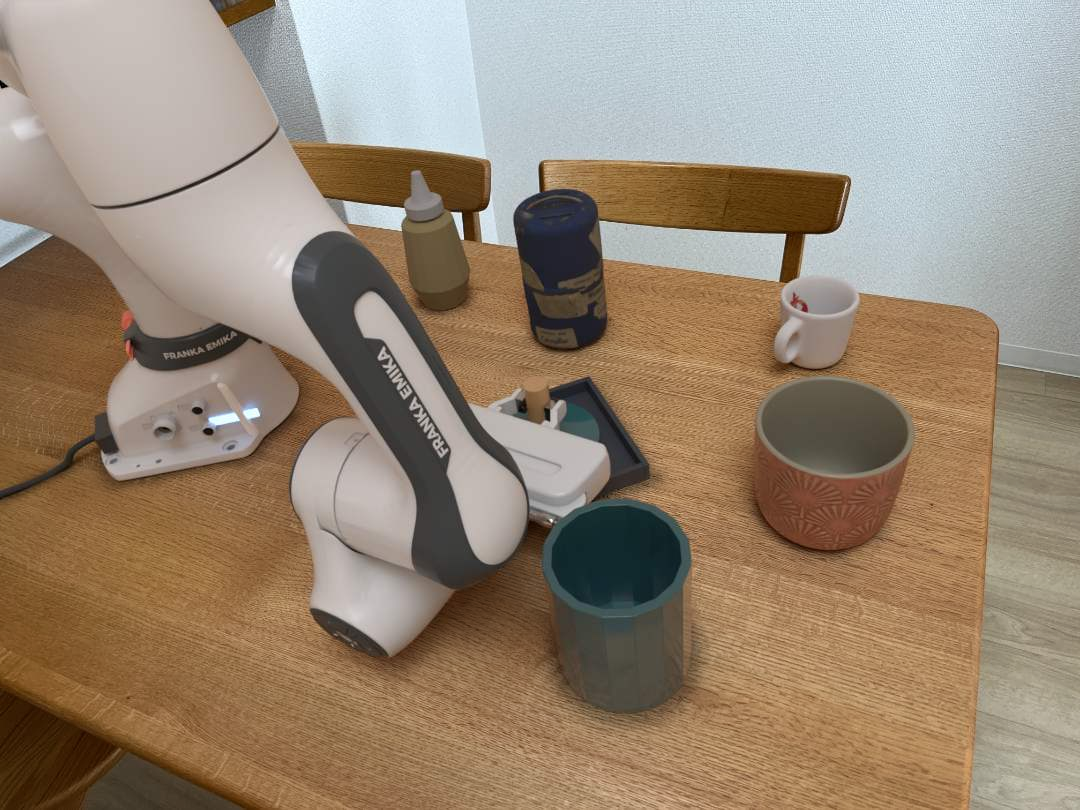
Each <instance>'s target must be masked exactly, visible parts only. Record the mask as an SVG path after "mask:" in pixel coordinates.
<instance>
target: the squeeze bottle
mask: <svg viewBox="0 0 1080 810" xmlns="http://www.w3.org/2000/svg"><path fill="white" fill-rule="evenodd" d="M410 192H411V193H410V194H411V196H409V197H408V198H406V199H405V201H404V203H403V208H404V212H405V215H406V216H404V217H403V219H402V220H401V224H400V227H401V233H402V242H403V248H404V255H405V261H406V266H407V267H406V268H407V274H408V282H409V284H410V286H411V288H412V290H414V292H415V294H416V295H417V296H418V297H419V299H420V301H421V302H422V303H423V305H424V307H426V308H428V309H429V310H433V311H446V310H450V309H454V308H456V307H458V306H459V305H461V304H462V303H463V302H464V301H465V300H466V299H467V295H468V289H469V281H470V276H471V266H470V264H469V261H468V258H467V255H466V251H465V249H464V246H463V242H462V240H461V236H460V233H459V230H458V227H457V224H456V221H455V218H454V215H453V214H452V212H451V210H448V209H446V208H445V207H444V203H443V199H442V196H441V195H440V194H438V193H437V192H433V191H432V192H431V191H430V188H429V187H428V184H427V182H426V180H425V178H424V176H423V174H422V171H421V170H417V169H416V170H413V171H411V173H410Z"/></svg>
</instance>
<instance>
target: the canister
mask: <svg viewBox="0 0 1080 810" xmlns="http://www.w3.org/2000/svg"><path fill="white" fill-rule="evenodd" d="M512 222H513V228H514V234H515V235H514V236H515V240H516V247H517V252H518V259H519V265H520V270H521V279H522V286H523V291H524V297H525V303H526V307H527V310H528V311H527V312H528V319H529V327H530V331H531V333H532V335H533V336H534V338H535V339H536V340H537V341H538V342H540V343H541V344H543V345H545V346H548V347H550V348H555V349H563V350H569V349H576V348H580V347H584V346H587V345H589V344H591V343H592V342H594V341H596V340H597V339H599V337H600V336H601V335H603V333H604V331H605V330H606V328H607V325H608V306H607V297H606V295H607V294H606V287H605V286H606V284H605V274H604V267H605V266H604V256H603V244H602V235H601V234H602V233H601V228H600V227H601V225H600V224H601V223H600V215H599V208H598V205H597V202H596V201H595V200H594V198H593V197H591V195H589V194H588V193H586V192H584V191H580V190H578V189H571V188H556V189H548V190H545V191H540V192H538V193H535V194H533V195H531V196H529V197H526V198H525V199H524V200H522V201H521V202H520V203H519V204H518V205H517V207H516V208H515V209H514V212H513V215H512Z"/></svg>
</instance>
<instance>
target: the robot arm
mask: <svg viewBox="0 0 1080 810" xmlns="http://www.w3.org/2000/svg"><path fill="white" fill-rule="evenodd" d="M0 81H1V82H2V83H3V84H5V86H7V87H4V88H0V220H1V221H5V222H7V223H13V224H18V225H22V226H27V227H30V228H33V229H36V230H40V231H42V232H45V233H47V234H50V235H52V236H54V237H56V238H59V239H61V240H63V241H64V242H66V243H68V244H70V245H72V246H73V247H75V248H76V249H78V250H79V251H81V252H82V253H83V254H85V255H86V256H87V257H88V258H89V259H90V260H92V261H93V262H94V263H95V264H96V265H97V266H98V267H99V268H100V269H101V270H102V272H103V273H104V275H106V277H107V278H108V280H109V281H110V283H111V284H112V286H113V287H114V288H115V290H116V291H117V294H119V296H120V298H121V299H122V301H123V302H124V304H125V306H126V308H127V309H126V310H125V311H124V312H122V314H121V323H120V326H121V328H122V330H123V331H124V332H123V335H122V336H123V337H122V338H123V340H122V341H123V342H124V344H125V352H126V354H127V355H128V357H129V359H128V361H126V363H125V364H124V366H123V367H122V368H121V369H120V370H119V372H118V373H117V374H116V375H115V377H113V379H112V381H111V384H110V386H109V390H108V392H107V398H106V411H104V412H101V413H99V414H95V415H94V433H92V434H91V435H88V436H87V437H84V438H83V439H82V440H79V441H78V442H76V443H75V444H74V445H73V446H71V448H69V450H68V451H67V452H66V454H65V458H64V460H63V461H61V462H60V463H59V464H58V465H57V466H55V467H54V468H52V469H50V470H49V471H47V472H45V473H43V474H41V475H39V476H37V477H34V478H31V479H29V480H27V481H24V482H21V483H18V484H16V485H13V486H9V487H7V488H4V489H0V499H1V498H4V497H7V496H9V495H12V494H15V493H18V492H21V491H24V490H26V489H29V488H32V487H33V486H36V485H38V484H40V483H42V482H44V481H46V480H48V479H50V478H53V477H54V476H56V475H58V474H60V473H61V472H63V471H64V470H65V469H67V468H68V467H69V466H70V465H72V462H73V461H74V458H75V455H76V454H77V453H78V451H80V450H81V449H82V448H84V447H86V446H88V445H91V444H92V443H93V442H95V444H97V446H98V448H99V449H100V456H101V460H102V464H103V465H104V468H105V469H106V472H107V473H108V474H109V476H110V477H111V478H113V479H114V480H115V481H118V482H119V481H120V482H122V481H129V480H134V479H141V478H145V477H150V476H155V475H160V474H165V473H171V472H176V471H181V470H186V469H192V468H197V467H203V466H208V465H213V464H218V463H223V462H228V461H229V462H230V461H235V460H239V459H244V458H246V457H249V455H251V454H253V453H254V451H255V450H256V449H257V448H258V446H259V445H260V444H261V443H262V441H263V439H264V438H265V437H266V436H267V435H268V434H269V433H271V432H272V431H273V430H274V429H276V428H277V427H278V426H279V425H280V424H282V423H283V422H284V421H285V420H286V419H287V418H288V417H289V416H290V414H291V413H292V412H293V410H294V409H295V407H296V405H297V403H298V400H299V396H300V387H299V384H298V381H297V380H296V378H295V377H294V376H293V375H292V374H291V373H290V372H289V371H288V370H287V368H286V367H285V366H284V365H283V363H282V362H281V361H280V360H279V358H278V357H277V354H276V353H275V351H274V350H273V349H272V347H271V346H273V347H275V348H277V349H278V350H281V351H283V352H285V353H286V354H288V355H291V356H292V357H294V358H296V359H297V360H299V361H301V362H303V363H304V364H305V365H307V366H308V367H310V368H312V369H313V370H314V371H316V372H317V374H319V375H321V376H322V377H323V378H324V379H326V380H327V381H328V382H329V383H330V384H331V385H332V386H334V388H335V389H336V390H337V391H338V392H339V393H340V395H342V397H343V398H344V399H345V400H346V402H347V403H348V405H349V406H350V408H351V409H352V411H353V412H354V414H355V415H356V417H352V416H348V415H343V416H338V417H334V418H331V419H330V420H328V421H326V422H324V423H322V424H321V425H320V426H318V427H317V428H316V429H315V430H314V431H313V432H312V433H311V434H309V436H308V437H307V438H306V439H305V440H304V441H303V443H302V445H301V446H300V448H299V449H298V452H296V453H297V454H296V456H295V458H294V460H293V462H292V466H291V470H290V473H289V480H288V492H289V499H290V504H291V507H292V510H293V512H294V514H295V516H296V518H297V519H298V520H299V522H300V523H301V524H302V526H303V530H304V533H305V536H306V540H307V543H308V547H309V551H310V556H311V563H312V569H313V581H312V587H311V592H310V595H309V600H308V609H309V613H310V615H311V616H312V618H313V620H314V621H315V623H316V624H317V625H318V626H319V627H320V628H321V629H322V630H323V631H325V632H326V633H327V634H328V635H329V636H331V637H332V638H334V639H335V640H338V641H339V642H341V643H342V644H344V645H345V646H347V647H348V648H351V649H352V650H355V651H356V652H359V653H361V654H364V655H366V656H370V657H371V658H372V657H373V658H377V659H383V658H384V659H386V658H387V659H388V658H391V657H394V656H396V655H397V654H399V653H400V652H401V651H402V650H404V649H405V648H407V647H408V646H409V645H410V644H411V643H412V642H413V641H414V640H415V639H416V638H417V637H418V636H419V635H420V634H421V633H422V632H423V631H424V630H425V629H426V628H427V626H428V625H429V624H430V623H431V622H432V621H433V620H434V619H435V617H436V616H438V614H439V612H440V611H441V610H442V608H443V607H444V606H445V605H446V603H448V601H449V600H450V598H451V597H452V596H453V594H454V593H455V592H456V591H457V590H458V591H460V590H465V589H467V588H469V587H471V586H474V585H477V584H478V583H480V582H483V581H485V580H486V579H488V578H489V577H491V576H492V575H494V574H495V573H497V572H498V571H499V570H501V569H503V567H505V566H506V565H507V564H508V563H509V562H510V561H511V560H512V559H513V558H514V557H515V556H516V554H517V553H518V552H519V550H520V548H521V547H522V545H523V542H524V539H525V537H526V535H527V531H528V527H529V522H531V521H532V522H535V523H537V524H539V525H540V526H542V527H543V528H548V529H553V527H554V525H555V524H556V523H557V522H558V521H560V520H561V519H562V518H563V517H565V516H566V515H567V514H568V513H570V512H571V511H572V510H574V509H576V508H578V507H581V506H584V505H586V504H589V503H592V501H593V500H594V499H595V497H596V495H597V494H598V493H599V492H600V491H601V490H602V488H603V487H604V486H605V484H606V483H607V482H608V480H609V478H610V459H609V455H608V452H607V449H606V447H605V445H603V444H601V443H598V442H595V441H592V440H588V439H585V438H582V437H579V436H575V435H572V434H569V433H565V432H562V431H560V425H559V423H560V422H561V420H562V419H563V418H564V416H565V415H566V412H567V407H566V401H563V400H560V399H556V398H550V399H549V402H547V403H546V404H545V405H544V412H545V413H546V414H545V421H543V422H542V424H541V425H539V424H536V423H533V422H530V421H526V420H523V419H520V418H517V417H513V416H512V415H514V414H516V413H518V412H519V413H523V414H525V413H526V412H527V407H526V401H525V396H524V390H523V388H522V387H517V388H516V389H515V390H514V392H513V393H512V394H511V395H510V396H507V397H504V398H501V399H499V400H496V401H494V402H491V403H490V404H489V405H488V406H487V407H483V406H480V405H477V404H474V403H471V402H468V401H467V399H466V398H465V396H464V394H463V392H462V391H461V389H460V387H459V386H458V384H457V383H456V381H455V379H454V377H453V376H452V374H451V372H450V370H449V369H448V367H447V365H446V364H445V362H444V360H443V358H442V356H441V355H440V353H439V352H438V350H437V348H436V346H435V344H434V343H433V341H432V339H431V338H430V336H429V334H428V333H427V331H426V329H425V328H424V326H423V324H422V322H421V321H420V319H419V318H418V316H417V313H416V312H415V311H414V309H413V307H412V306H411V304H410V303H409V300H408V299H407V298H406V296H405V294H404V292H403V291H402V290H401V288H400V287H399V286H398V284H397V282H396V281H395V279H394V278H393V276H392V275H391V274H390V273H389V271H388V270H387V268H386V267H385V266H384V265H383V264H382V263H381V261H380V260H379V259H378V258H377V256H375V255H374V254H373V252H372V251H371V250H370V249H369V248H368V247H367V246H366V245H365V244H364V243H363V242H362V241H361V240H359V239H358V238H357V236H355V234H354V233H353V232H352V231H351V230H350V228H349V227H348V226H347V225H346V224H345V223H344V221H342V219H341V218H340V217H339V216H338V215H337V213H336V212H335V211H334V209H333V208H332V207H331V205H330V204H329V203H328V201H327V200H326V198H325V197H324V196H323V194H322V193H321V192H320V190H319V189H318V187H317V186H316V184H315V183H314V181H313V180H312V178H311V176H310V175H309V173H308V172H307V170H306V169H305V167H304V166H303V164H302V162H301V160H300V159H299V157H298V155H297V154H296V151H295V150H294V148H293V146H292V145H291V143H290V141H289V138H288V137H287V135H286V133H285V131H284V129H283V127H282V125H281V122H280V121H279V118H278V117H277V114H276V112H275V110H274V108H273V107H272V105H271V102H270V100H269V98H268V96H267V94H266V92H265V90H264V89H263V86H262V84H261V83H260V81H259V80H258V77H257V76H256V74H255V72H254V71H253V68H252V67H251V65H250V63H249V61H248V59H247V58H246V56H245V55H244V53H243V51H242V49H241V48H240V46H239V45H238V43H237V41H236V40H235V38H234V37H233V35H232V33H231V32H230V30H229V28H228V27H227V25H226V24H225V23H224V21H223V19H222V18H221V16H220V15H219V13H218V12H217V10H216V8H215V7H214V5H213V4H212V2H211V1H210V0H0ZM596 498H597V497H596ZM529 520H531V521H529Z"/></svg>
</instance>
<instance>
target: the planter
mask: <svg viewBox="0 0 1080 810" xmlns="http://www.w3.org/2000/svg"><path fill="white" fill-rule="evenodd" d="M915 438H916V430H915V425H914V422H913V419H912V417H911V415H910V413H909V412H908V411H907V409H906V408H905V407H904V406H903V404H902V403H901V402H900V401H898V399H896V398H895V397H894V396H892V395H891V394H890V393H888V392H886V391H885V390H883V389H881V388H880V387H878V386H875V385H873V384H871V383H867V382H865V381H863V380H859V379H854V378H850V377H844V376H840V375H839V376H838V375H811V376H805V377H799V378H796V379H792V380H790V381H787V382H785V383H782V384H780V385H779V386H777V387H775V388H774V389H772V390H771V391H770V392H769V393H767V394H766V395H765V396H764V398H763V399H762V400H761V401H760V403H759V404H758V407H757V409H756V412H755V417H754V444H753V445H754V447H753V448H754V452H753V479H754V489H755V497H756V501H757V504H758V508H759V509H760V512H761V514H762V516H763V517H764V518H765V520H766V521H767V523H768V524H769V525H770V526H771V527H772V529H774V530H775V531H776V532H777V533H778V534H780V535H781V536H782V537H784V538H786V539H787V540H789V541H791V542H793V543H796V544H798V545H800V546H803V547H806V548H810V549H814V550H822V551H837V550H845V549H849V548H853V547H856V546H859V545H861V544H863V543H865V542H866V541H868V540H870V539H872V537H874V536H875V535H877V533H878V532H879V531H880V530H881V529H882V527H883V526H884V525H885V523H886V522H887V520H888V518H889V516H890V515H891V513H892V510H893V509H894V506H895V503H896V501H897V498H898V495H899V493H900V489H901V486H902V483H903V480H904V477H905V473H906V470H907V467H908V464H909V460H910V457H911V454H912V450H913V446H914V444H915Z"/></svg>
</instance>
